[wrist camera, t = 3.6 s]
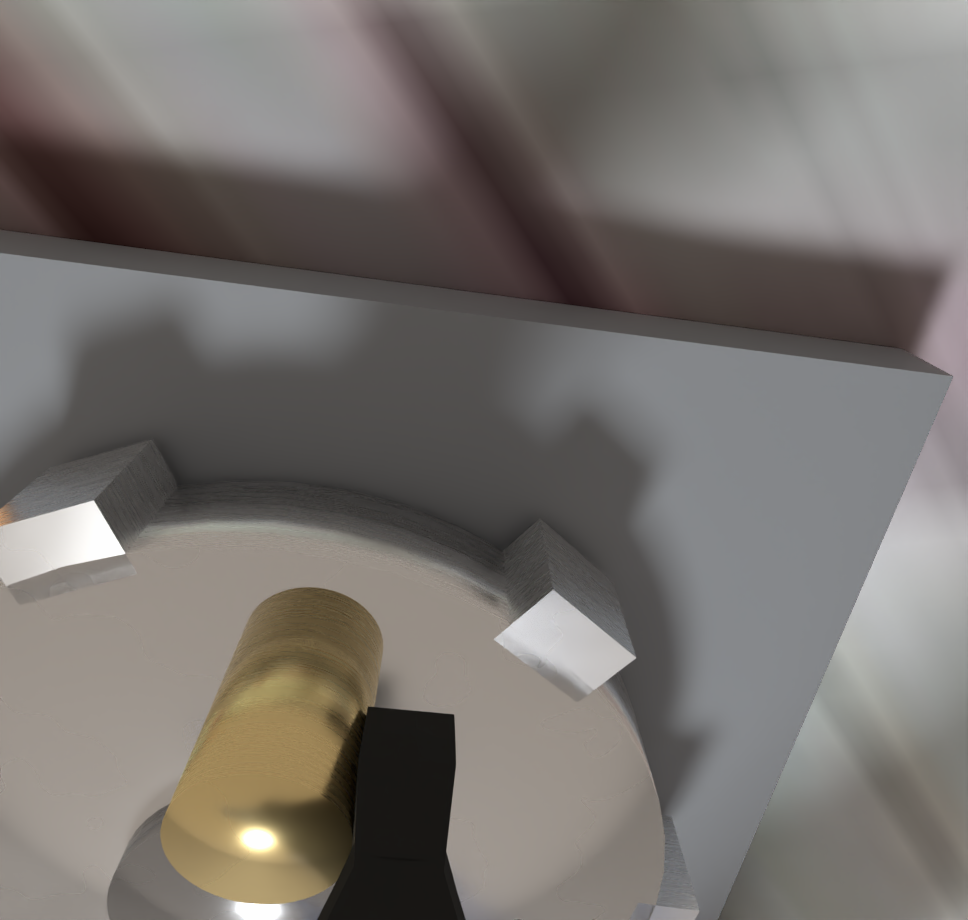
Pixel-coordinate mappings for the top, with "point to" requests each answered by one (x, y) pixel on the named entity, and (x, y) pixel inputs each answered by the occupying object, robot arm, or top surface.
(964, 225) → the top surface
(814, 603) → the base plate
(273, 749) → the lugged metal disc
